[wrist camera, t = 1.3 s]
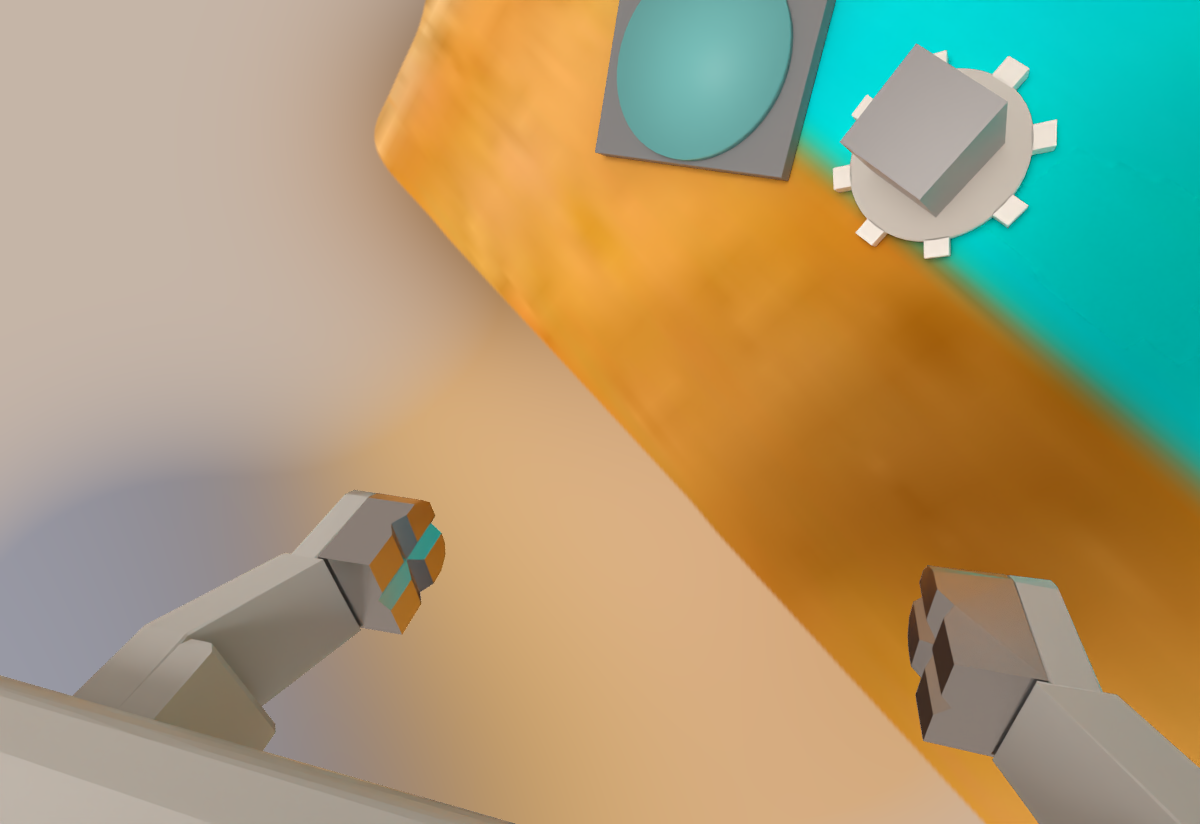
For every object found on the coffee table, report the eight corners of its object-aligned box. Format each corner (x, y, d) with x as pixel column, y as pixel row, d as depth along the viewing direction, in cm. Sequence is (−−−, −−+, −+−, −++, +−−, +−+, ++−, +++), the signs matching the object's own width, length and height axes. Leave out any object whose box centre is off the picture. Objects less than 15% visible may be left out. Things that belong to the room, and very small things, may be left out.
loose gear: (934, 19, 32) (914, -71, 24) (1109, 127, 29) (1154, 66, 21) (802, 189, 37) (748, 164, 29) (939, 295, 34) (921, 300, 26)
